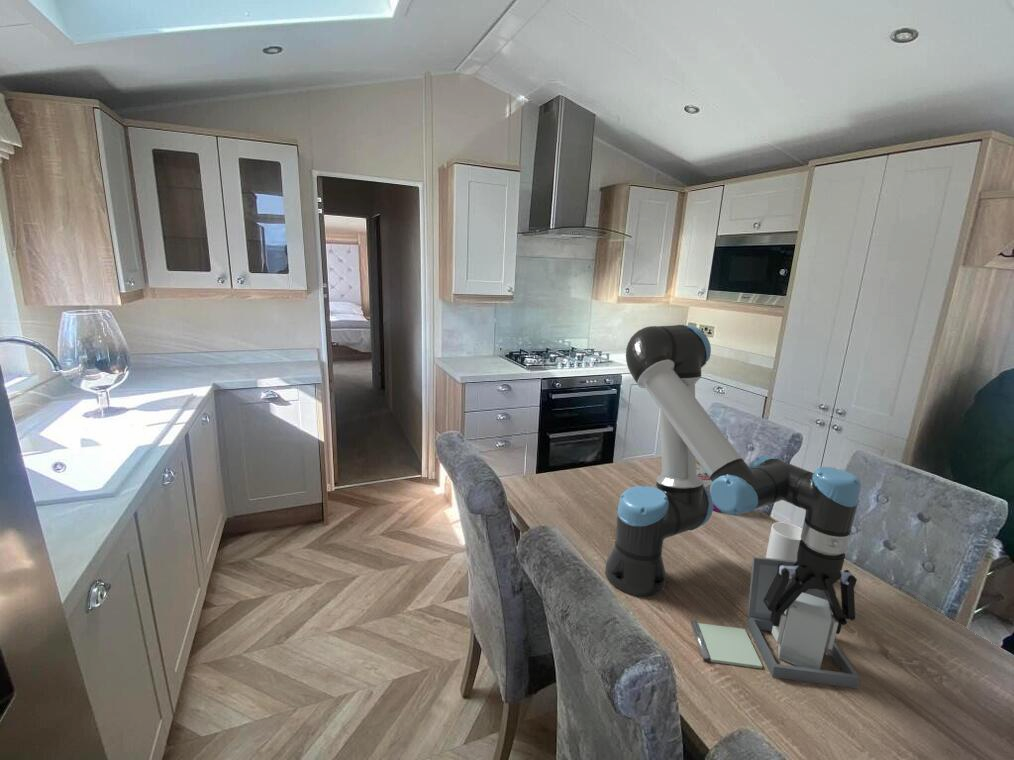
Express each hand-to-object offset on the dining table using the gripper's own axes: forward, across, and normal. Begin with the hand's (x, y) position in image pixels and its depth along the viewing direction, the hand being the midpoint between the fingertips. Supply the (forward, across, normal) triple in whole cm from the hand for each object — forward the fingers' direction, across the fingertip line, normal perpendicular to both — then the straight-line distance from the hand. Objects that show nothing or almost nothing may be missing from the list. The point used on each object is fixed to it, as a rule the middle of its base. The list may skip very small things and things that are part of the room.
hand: (801, 640), depth 97 cm
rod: (+3, -20, 0) cm, 20 cm away
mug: (+4, +12, +33) cm, 35 cm away
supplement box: (+4, 0, 0) cm, 4 cm away
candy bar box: (+4, -2, +63) cm, 63 cm away
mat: (+3, -14, 0) cm, 14 cm away
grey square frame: (+3, 0, 0) cm, 3 cm away
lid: (-6, 0, +8) cm, 10 cm away
